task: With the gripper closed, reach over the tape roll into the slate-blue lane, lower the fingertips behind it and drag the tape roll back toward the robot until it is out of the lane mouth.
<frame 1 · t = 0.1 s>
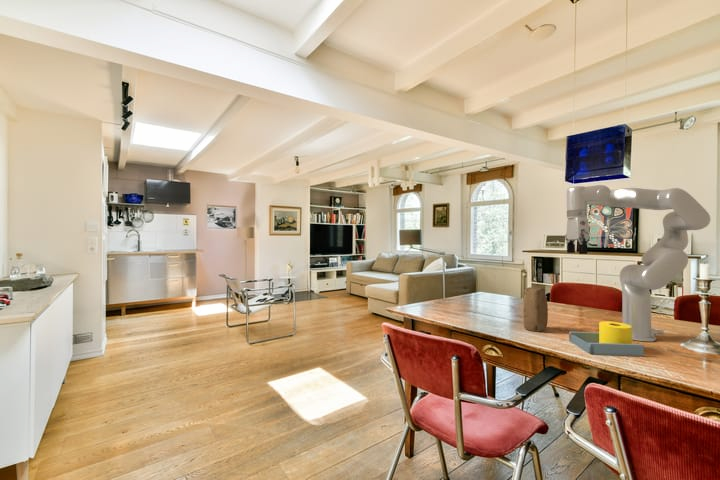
hand: (576, 253, 142), 37 cm above the table, tool pointing down, fingers open, 9 cm apart
lane: (603, 348, 126), on the table
block: (535, 329, 152), on the table
tape roll: (615, 349, 126), on the table
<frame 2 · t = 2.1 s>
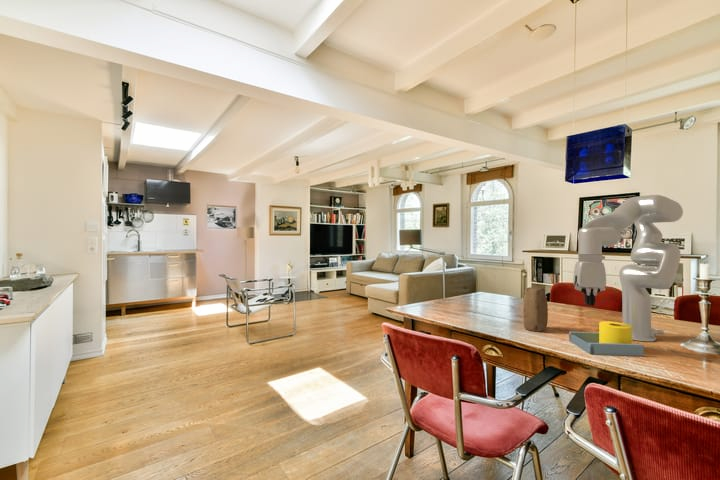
hand: (589, 305, 127), 17 cm above the table, tool pointing down, fingers closed
nothing on the table moved.
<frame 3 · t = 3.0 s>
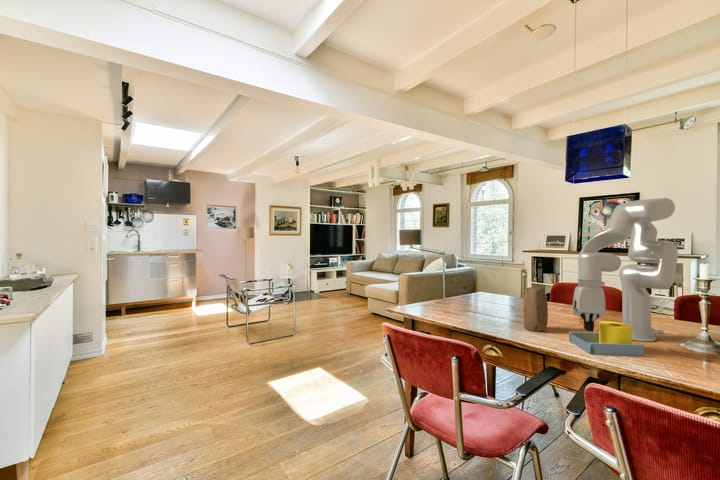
hand: (588, 330, 127), 7 cm above the table, tool pointing down, fingers closed
nothing on the table moved.
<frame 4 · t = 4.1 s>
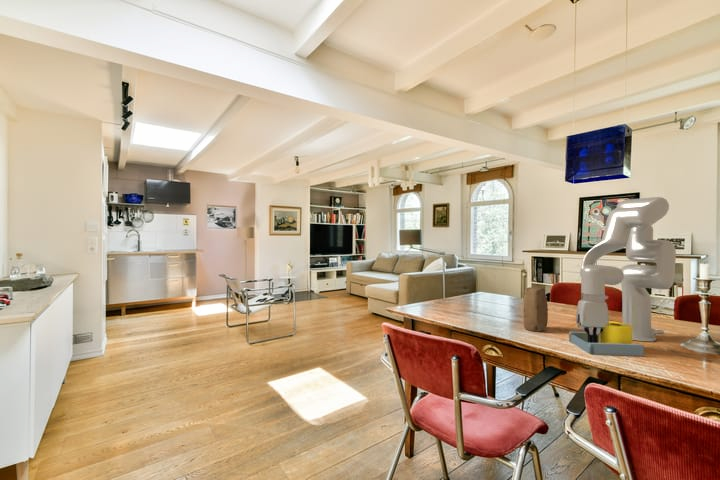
hand: (592, 344, 127), 1 cm above the table, tool pointing down, fingers closed
tape roll: (615, 348, 126), on the table, touching gripper
everything else where it was.
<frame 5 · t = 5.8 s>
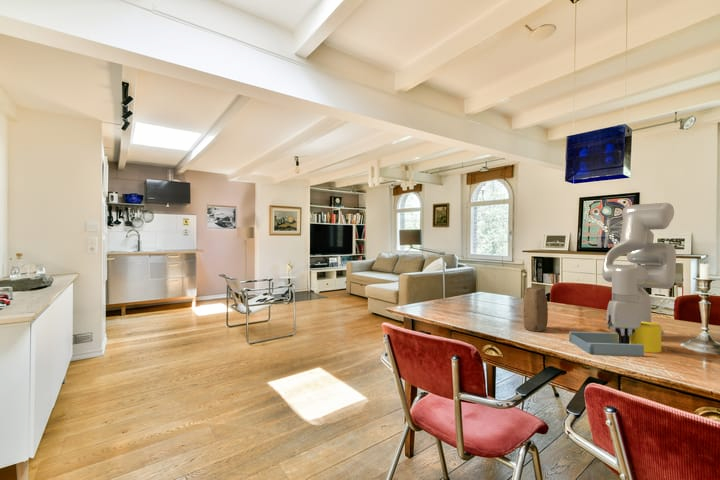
hand: (624, 345, 125), 1 cm above the table, tool pointing down, fingers closed
tape roll: (643, 348, 126), on the table, touching gripper
everything else where it was.
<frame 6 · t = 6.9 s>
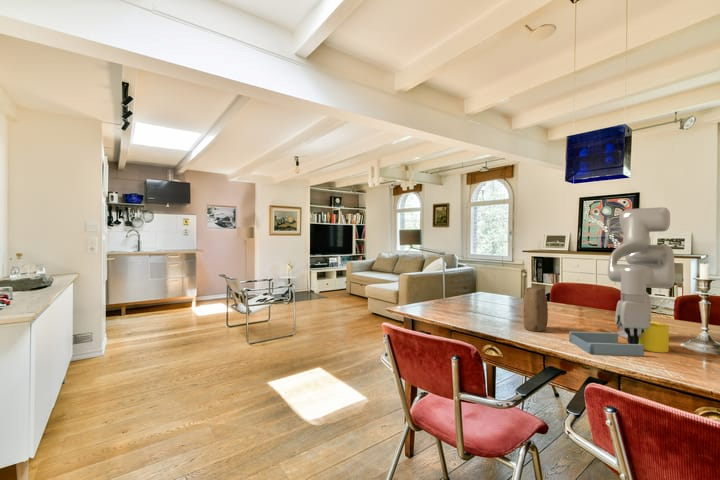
hand: (633, 345, 124), 2 cm above the table, tool pointing down, fingers closed
tape roll: (650, 348, 126), on the table, touching gripper
everything else where it was.
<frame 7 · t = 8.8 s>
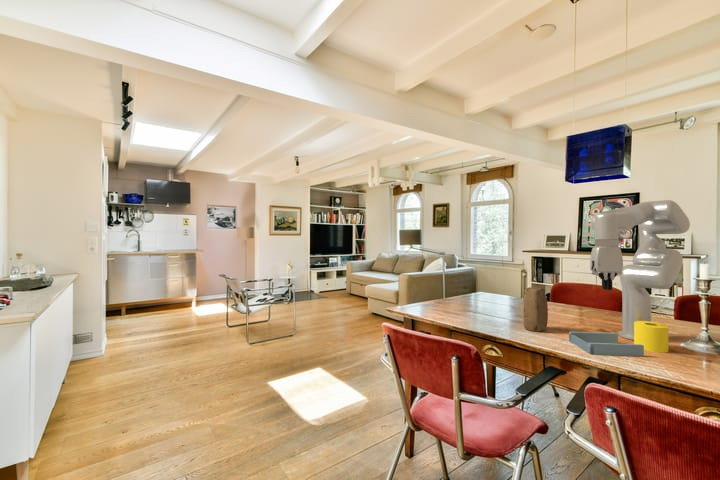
hand: (607, 289, 128), 23 cm above the table, tool pointing down, fingers closed
tape roll: (650, 348, 126), on the table
everything else where it was.
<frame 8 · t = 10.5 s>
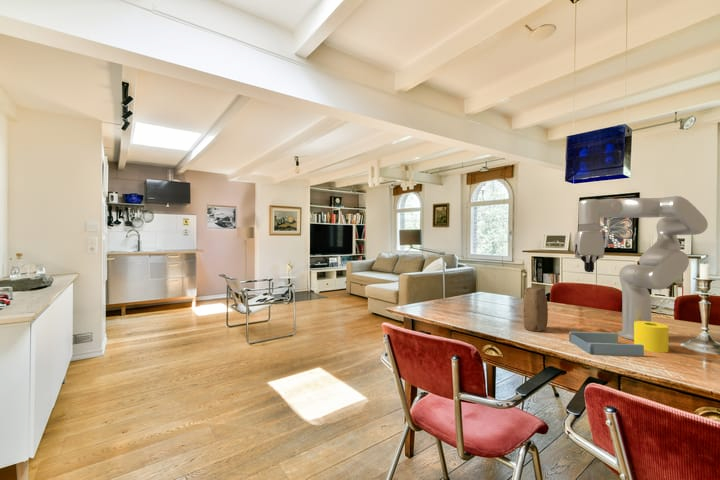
hand: (589, 271, 136), 29 cm above the table, tool pointing down, fingers closed
nothing on the table moved.
at the end: tape roll inside the target area (2.2 cm from its centre), on the table; tape roll moved 14.2 cm from its start; tape roll touching table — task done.
